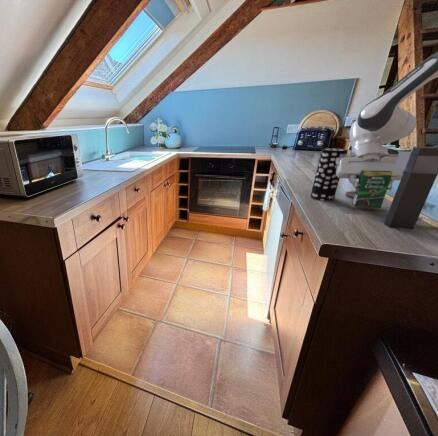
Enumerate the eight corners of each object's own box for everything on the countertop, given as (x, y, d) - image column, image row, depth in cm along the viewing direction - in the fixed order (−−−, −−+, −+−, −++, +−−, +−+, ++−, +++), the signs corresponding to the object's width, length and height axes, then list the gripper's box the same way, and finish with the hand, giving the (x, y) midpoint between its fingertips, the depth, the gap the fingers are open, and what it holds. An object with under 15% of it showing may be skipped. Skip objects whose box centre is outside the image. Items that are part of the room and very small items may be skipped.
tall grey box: (375, 217, 83) (402, 144, 74) (397, 219, 81) (427, 144, 72) (389, 227, 76) (420, 147, 66) (413, 229, 74) (449, 148, 65)
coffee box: (353, 206, 89) (364, 170, 84) (350, 203, 92) (361, 169, 87) (380, 208, 86) (394, 172, 81) (377, 206, 89) (390, 170, 84)
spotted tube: (333, 196, 104) (346, 148, 97) (334, 202, 98) (348, 151, 90) (310, 194, 109) (321, 147, 101) (310, 199, 102) (322, 150, 94)
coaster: (361, 192, 109) (362, 190, 109) (385, 200, 99) (386, 198, 98) (338, 193, 108) (339, 191, 108) (360, 201, 98) (361, 199, 98)
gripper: (339, 150, 91) (342, 182, 86) (407, 151, 85) (415, 185, 80) (331, 160, 96) (334, 191, 92) (394, 161, 91) (401, 194, 86)
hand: (372, 188), depth 86 cm, fingers closed on coffee box, 8 cm apart
